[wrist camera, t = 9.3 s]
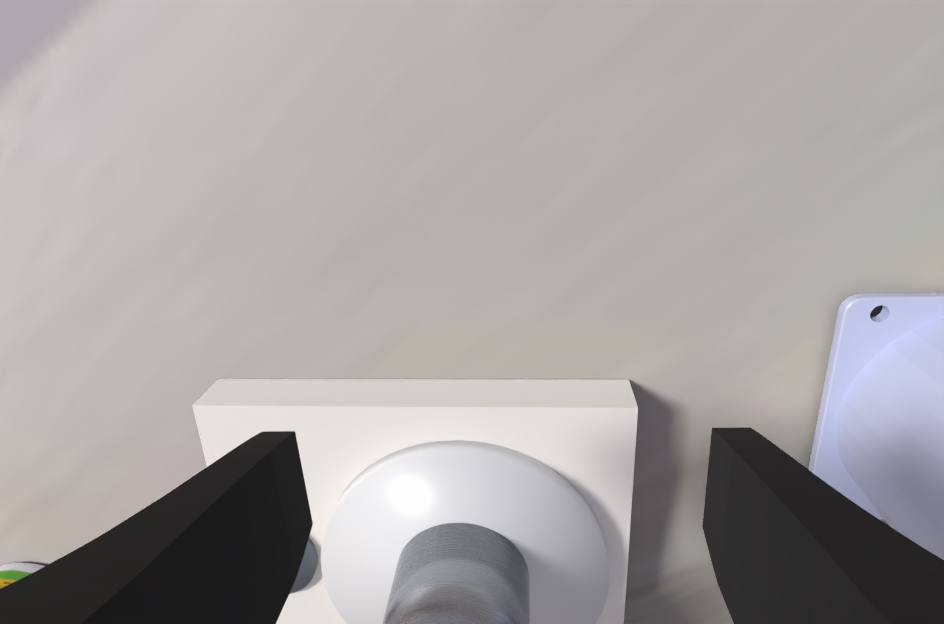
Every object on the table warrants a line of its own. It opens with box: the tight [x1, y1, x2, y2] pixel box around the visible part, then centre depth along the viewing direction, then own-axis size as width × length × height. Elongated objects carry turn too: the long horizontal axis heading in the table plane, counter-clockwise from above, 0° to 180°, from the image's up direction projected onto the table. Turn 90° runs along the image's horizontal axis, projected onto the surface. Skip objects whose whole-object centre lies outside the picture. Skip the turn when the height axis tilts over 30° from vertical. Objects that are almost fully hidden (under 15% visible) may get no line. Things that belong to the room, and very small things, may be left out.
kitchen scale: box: [192, 379, 638, 624], centre depth 22 cm, size 14×12×3 cm
